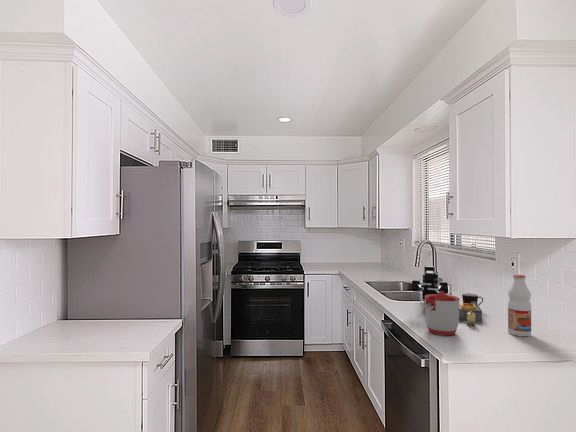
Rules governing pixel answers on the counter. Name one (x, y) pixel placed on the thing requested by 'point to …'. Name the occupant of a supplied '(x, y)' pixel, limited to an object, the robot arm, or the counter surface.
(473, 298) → the coffee mug
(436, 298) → the citrus juicer
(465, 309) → the grey square box
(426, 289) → the robot arm
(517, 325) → the fruit juice
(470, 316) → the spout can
